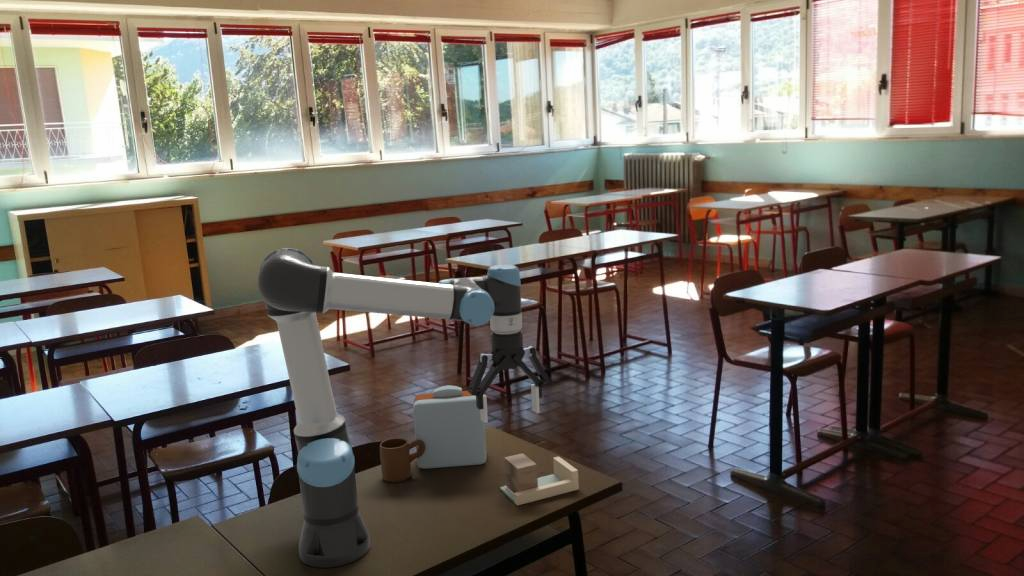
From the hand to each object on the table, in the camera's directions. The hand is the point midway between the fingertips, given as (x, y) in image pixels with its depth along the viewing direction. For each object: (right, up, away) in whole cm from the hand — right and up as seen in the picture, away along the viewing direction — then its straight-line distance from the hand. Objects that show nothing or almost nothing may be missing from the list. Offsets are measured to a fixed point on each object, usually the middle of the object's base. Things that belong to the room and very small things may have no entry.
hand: (510, 416), depth 196 cm
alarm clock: (-16, -16, +25) cm, 34 cm away
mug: (-28, -18, +18) cm, 38 cm away
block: (+3, -18, +3) cm, 19 cm away
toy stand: (+7, -19, +5) cm, 21 cm away
